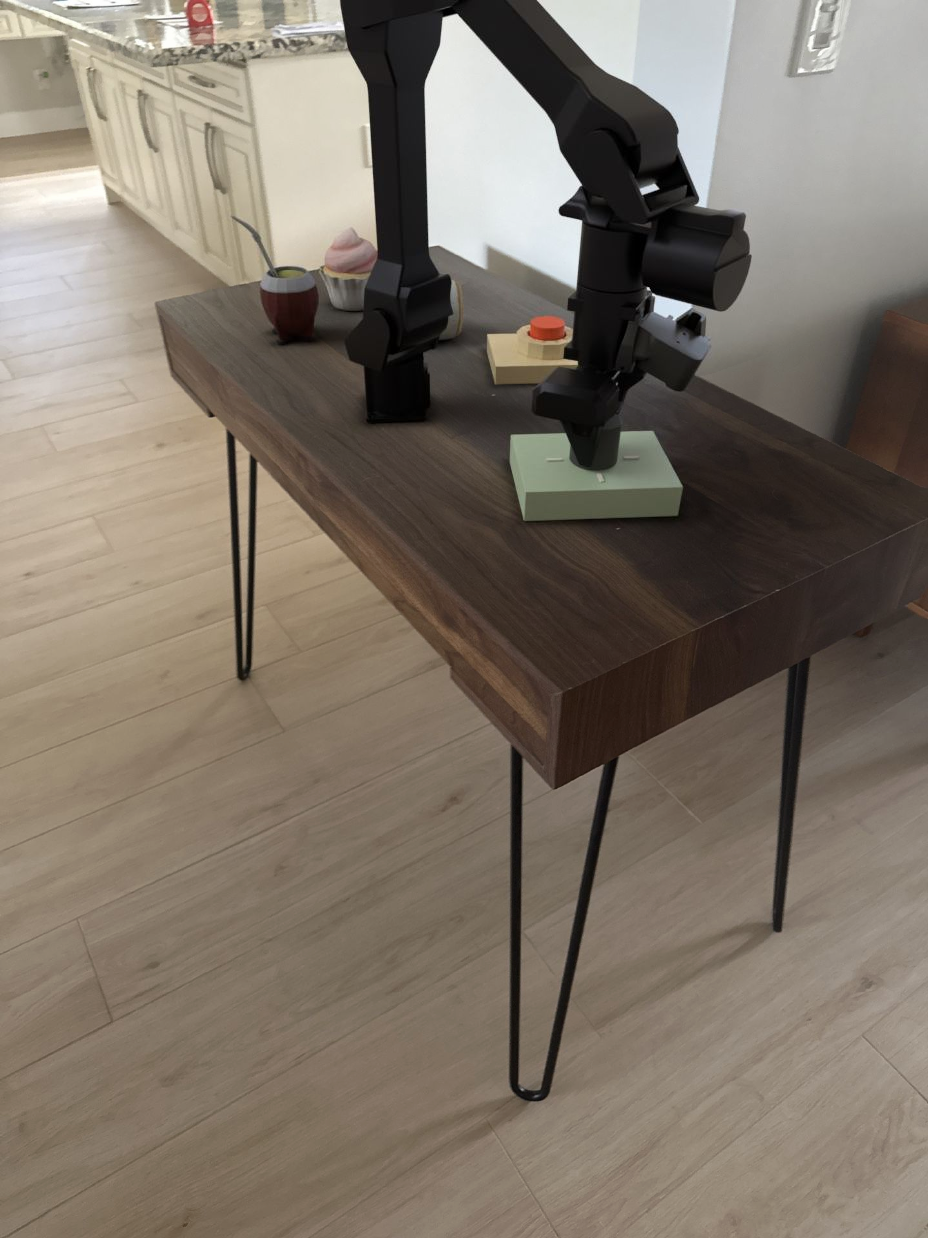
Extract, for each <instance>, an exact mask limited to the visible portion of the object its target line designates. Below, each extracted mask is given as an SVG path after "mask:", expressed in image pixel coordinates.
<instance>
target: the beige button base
mask: <svg viewBox="0 0 928 1238" xmlns="http://www.w3.org/2000/svg"><path fill="white" fill-rule="evenodd" d="M572 334H573V328H571V327H569V326H566V325H565V329H564V338H563V339H560V340H557V341H542V340H537V339H533V338H531V337H530V324H526V325H523V326H521V327H520V328H519V329H518V330H516V333H487V334H486V353H487V357H488V361H489V365H490V366H489V367H490V369H491V373H492V378H493V381H494V385H520V384H521V385H522V384H523V385H525V384H526V385H527V384H539V383H540V382H541V381H542V380H543V379H544V378H545V377H546V376H547V375H548V374H550V373H551V372H552V371H553V370H555V369H556V368H557V367H565V368H570V369H575V368H576V367H577V366H578V361H573V360H567V359H563V356H564V347H565V346H566V345H567V344H568V343H569V342H570V341H571V340H572Z"/></svg>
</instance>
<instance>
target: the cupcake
mask: <svg viewBox="0 0 928 1238" xmlns="http://www.w3.org/2000/svg"><path fill="white" fill-rule="evenodd" d="M376 259H377V248H375V245H374V244H373V243H372V242H371V241H370V240H369V239H366V238H363V237H360V236H359V235H358V232H357V231H356V230H355V229H354V228H353V227H352V226H350V227H348V228H346V229H345V230H343V231H341V232H340V233H339V234H338V235H336V237H334V239H333V241H332V244H331V245H330V246H329V248H328V249H327V250H326V251H325V253H324V260H323V262H324V264H323V265H319V266H318V268H319V271H318V272H319V275H320V277H321V279H322V281H323V282H324V285H325V286H326V289H327V292H328V296H329V300H330V302H331V304H332V306H333V307H334V308H336V309H337V310H342V311H347V312H359V311H363V306H364V289H365V286H366V283H367V281H368V278H369V276H370V274H371V271H372V269H373V266H374V264H375V262H376Z"/></svg>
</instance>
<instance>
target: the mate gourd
mask: <svg viewBox="0 0 928 1238" xmlns="http://www.w3.org/2000/svg"><path fill="white" fill-rule="evenodd" d="M230 218H232V219H233V220H234V221H235V222H237V223H238V224H240V225H241V226H243V227H244V228H245V229H246V230H247V231H248V232H249V233H250V234H251V237H252V238H253V241H254V242H255V243H256V244H257V246H258V248H259V250H260V252H261V254H262V257H263V258H264V261H265V263H266V265H267V267H268V270H267V271H266V272H265V273H264V275H263V277H262V279H261V281H260V288H259V296H260V300H261V305H262V308H263V311H264V313H265V315H266V318H267V319H268V320H269V322H270V324H271V325H272V326H273V328H271V331H272V334H274V335H277V336H278V339H276V343H277V345H280V346H283V345H285V344H287V343H289V342H291V341H293V340H296V339H297V340H301V341H306V342H315V341H316V336H315V335H314V334H313V333H314V328H315V319H316V318H315V317H316V315H317V312H318V308H319V303H320V302H319V298H320V296H319V291H318V287H317V284H316V281H315V278H314V277H313V276H312V274H311V272H310V271H309V270H308V269H306V268H304V267H303V266H302V267H301V266H297V265H283V266H282V265H281V266H276V267H274V264H273V262H272V261H271V258H270V257H269V255H268V252H267V250H266V247H265V246H264V244H263V242H262V237H261V235H260V234H259V232H258V231H256V230H255V228H254V227H253V226H252V225H250V224H249V223H248V222H246V221H244V220H242V219H240V218H238V217H236V216H234V215H233V214H231V215H230Z"/></svg>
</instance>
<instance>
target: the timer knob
mask: <svg viewBox="0 0 928 1238" xmlns="http://www.w3.org/2000/svg"><path fill="white" fill-rule="evenodd" d="M622 424H623V419H622V417H621V416H620V414H619V415H617V414H616V415H615V416H614V417H612V418H610V419H609V421H608V422H607V423H606V425H605V426H603V429H602V432H601V435H600V439H599V442H598V446H597V449H596V453H595V456H594V459H593V462H592V465H591V466H590V467H585V466H580V465H579V464H578V461H577V459H576V457H575V454H574V452H573V450H572V447H571V445H570V454H569V459H570V461H571V462H572V463H573V464H574V465H576V466H577V467H580V468H583V469H587V470H605V469H608V468H611V467H613V466H614V465H615V464H616V462H617V457H618V450H619V442H620V434H621V432H622Z"/></svg>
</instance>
